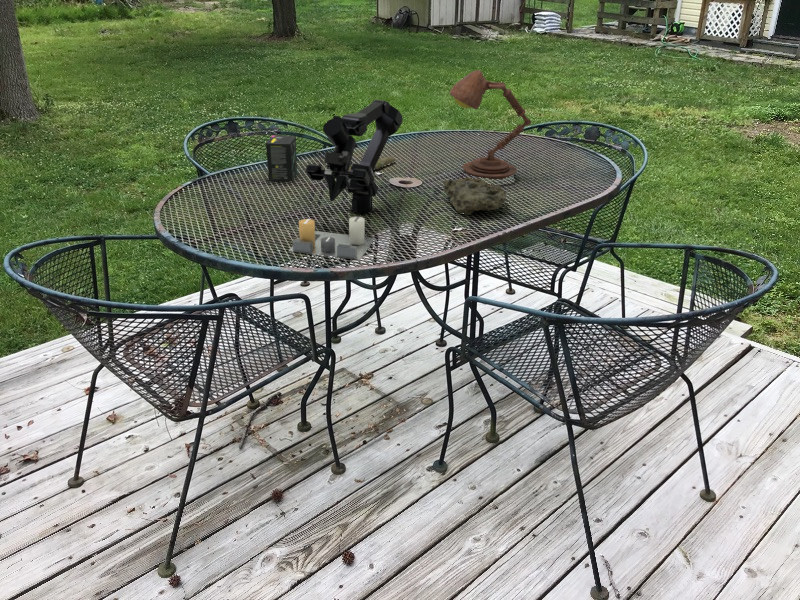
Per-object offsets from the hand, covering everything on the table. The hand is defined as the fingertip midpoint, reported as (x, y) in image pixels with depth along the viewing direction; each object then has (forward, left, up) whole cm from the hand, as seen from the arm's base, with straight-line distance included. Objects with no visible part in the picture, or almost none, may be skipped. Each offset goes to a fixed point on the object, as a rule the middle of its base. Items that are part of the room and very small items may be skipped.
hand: (331, 200), depth 191 cm
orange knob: (+12, +3, -10) cm, 16 cm away
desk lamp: (-82, -3, -11) cm, 83 cm away
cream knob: (0, +11, -10) cm, 15 cm away
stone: (-54, +14, -12) cm, 57 cm away
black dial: (+9, +9, -10) cm, 16 cm away
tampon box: (-25, -55, -11) cm, 62 cm away
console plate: (+6, +7, -11) cm, 14 cm away
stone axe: (-52, -40, -12) cm, 67 cm away
